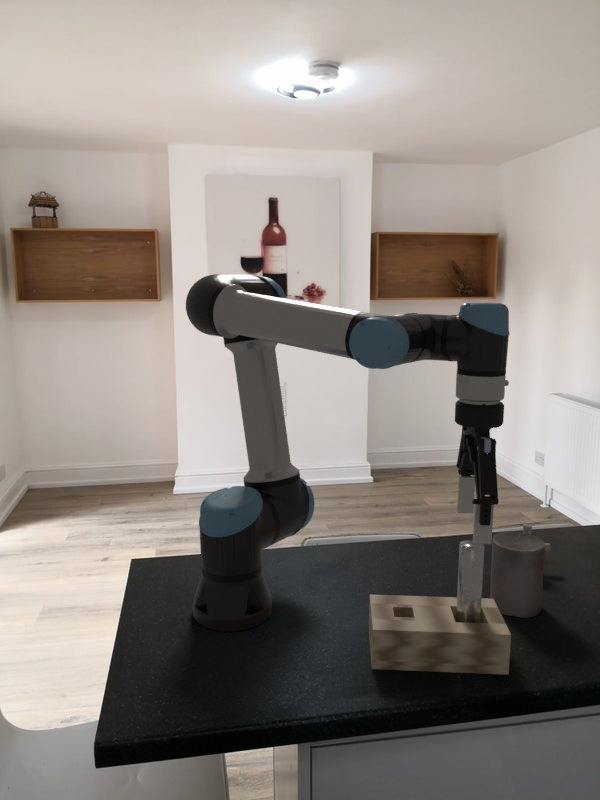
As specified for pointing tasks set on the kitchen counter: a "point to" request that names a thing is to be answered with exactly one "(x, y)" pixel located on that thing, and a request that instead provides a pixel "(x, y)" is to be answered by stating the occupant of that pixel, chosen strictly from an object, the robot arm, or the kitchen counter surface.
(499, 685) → the kitchen counter surface
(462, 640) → the hole block
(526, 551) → the pillar candle
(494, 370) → the robot arm
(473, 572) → the pin
